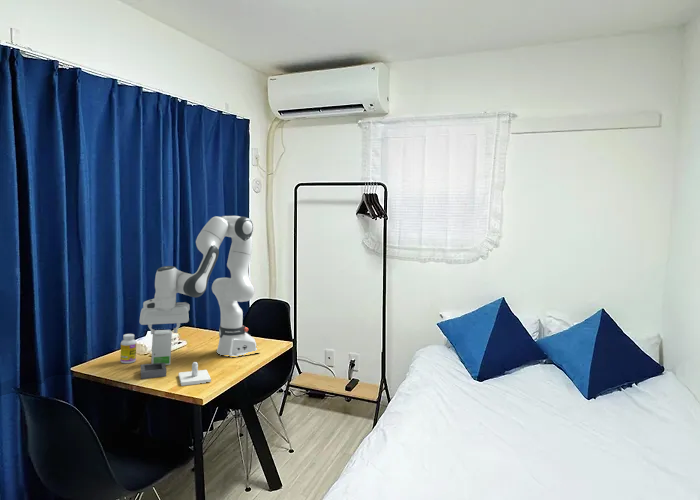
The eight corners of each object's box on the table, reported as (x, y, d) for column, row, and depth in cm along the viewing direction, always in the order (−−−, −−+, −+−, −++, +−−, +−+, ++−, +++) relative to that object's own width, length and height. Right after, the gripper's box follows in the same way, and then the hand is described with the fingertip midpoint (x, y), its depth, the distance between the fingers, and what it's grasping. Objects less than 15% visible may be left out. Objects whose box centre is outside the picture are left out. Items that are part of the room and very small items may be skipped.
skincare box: (151, 366, 204) (152, 333, 203) (151, 362, 210) (151, 330, 209) (171, 364, 208) (172, 332, 207) (169, 360, 214) (170, 328, 212)
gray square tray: (164, 368, 202) (164, 362, 202) (166, 376, 193) (166, 369, 193) (140, 371, 198) (140, 364, 197) (141, 379, 189) (141, 372, 189)
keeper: (206, 372, 200) (207, 356, 199) (210, 382, 189) (211, 365, 189) (178, 375, 195) (178, 359, 194) (181, 385, 184) (181, 368, 183)
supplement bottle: (129, 364, 205) (130, 337, 204) (117, 362, 206) (117, 336, 205) (139, 360, 211) (139, 334, 210) (127, 358, 213) (127, 332, 212)
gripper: (189, 300, 202) (188, 330, 203) (139, 302, 193) (139, 332, 194) (190, 303, 197) (189, 333, 198) (140, 304, 188) (139, 336, 189)
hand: (164, 333), depth 196 cm, fingers open, 8 cm apart
